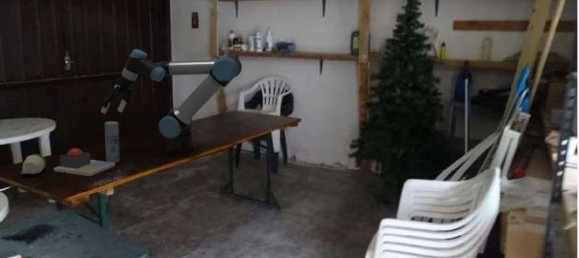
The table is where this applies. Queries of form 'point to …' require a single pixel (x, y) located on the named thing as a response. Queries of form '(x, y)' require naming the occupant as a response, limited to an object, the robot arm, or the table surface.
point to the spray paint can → (112, 142)
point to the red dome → (75, 153)
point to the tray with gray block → (82, 165)
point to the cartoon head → (33, 164)
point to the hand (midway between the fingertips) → (111, 111)
